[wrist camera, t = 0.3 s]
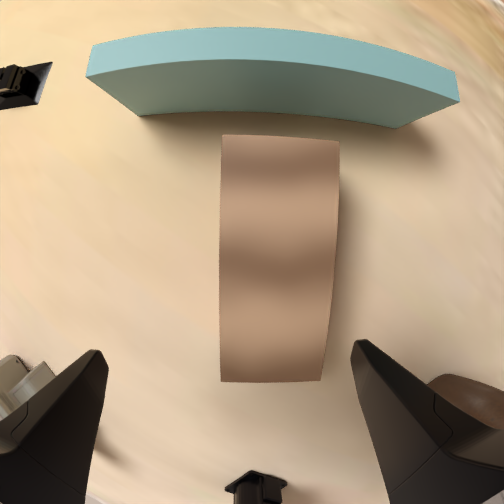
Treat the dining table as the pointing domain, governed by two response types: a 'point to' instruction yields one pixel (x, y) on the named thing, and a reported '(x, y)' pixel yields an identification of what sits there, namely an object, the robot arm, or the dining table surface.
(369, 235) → the dining table surface
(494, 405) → the plant pot
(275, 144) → the walnut block
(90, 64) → the teal board
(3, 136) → the dining table surface
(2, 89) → the black block on plate
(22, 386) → the digital clock
